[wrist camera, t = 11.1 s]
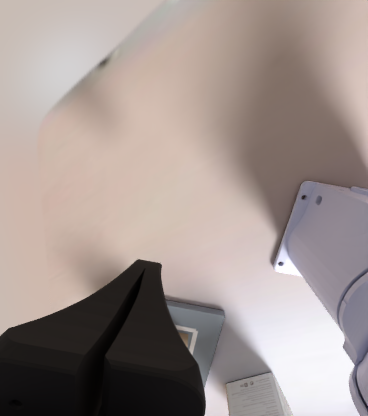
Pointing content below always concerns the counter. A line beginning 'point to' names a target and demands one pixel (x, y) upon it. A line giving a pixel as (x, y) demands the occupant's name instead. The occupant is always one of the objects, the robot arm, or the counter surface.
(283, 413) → the small box
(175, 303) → the board
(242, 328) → the counter surface
